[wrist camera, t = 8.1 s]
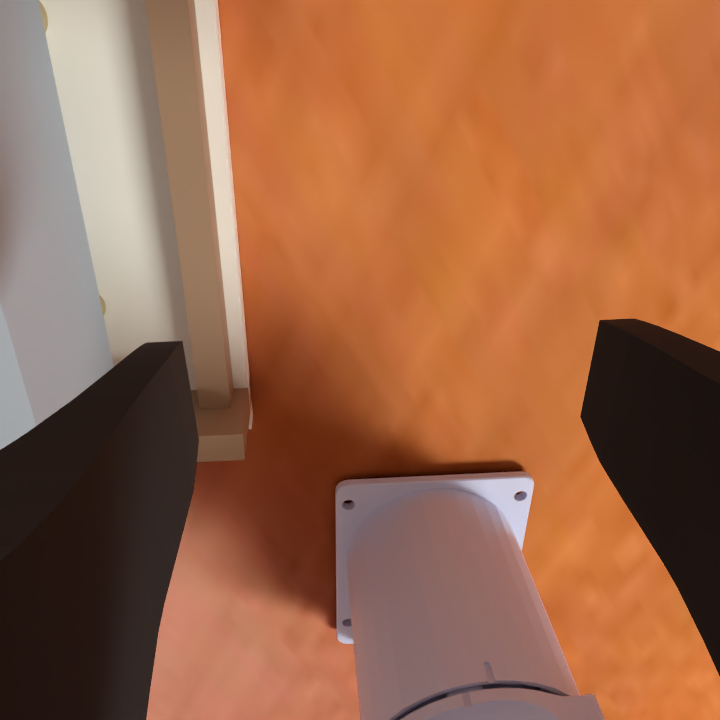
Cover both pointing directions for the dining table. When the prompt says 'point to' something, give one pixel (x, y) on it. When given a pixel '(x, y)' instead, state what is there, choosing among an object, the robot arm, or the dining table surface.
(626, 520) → the dining table surface
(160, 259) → the peg frame
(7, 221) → the rectangular block
